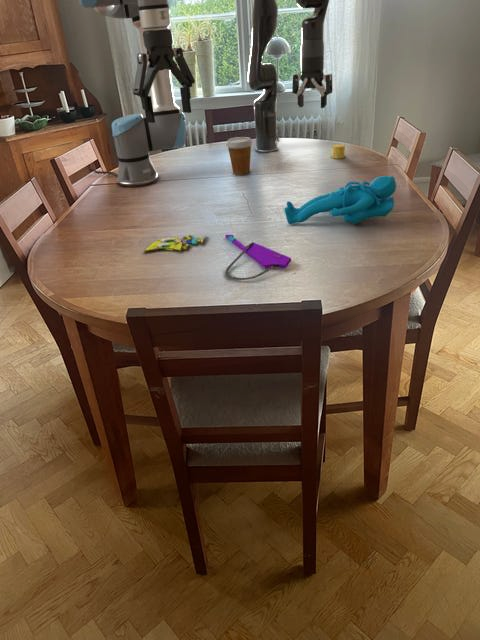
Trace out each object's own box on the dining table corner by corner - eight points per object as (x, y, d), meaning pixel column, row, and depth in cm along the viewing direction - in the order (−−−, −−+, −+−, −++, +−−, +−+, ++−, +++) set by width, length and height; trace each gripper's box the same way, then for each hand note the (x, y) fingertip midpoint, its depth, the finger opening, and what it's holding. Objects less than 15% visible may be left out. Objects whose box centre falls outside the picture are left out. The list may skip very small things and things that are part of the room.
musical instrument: (267, 291, 107) (306, 245, 119) (265, 283, 105) (305, 238, 118) (184, 277, 119) (226, 237, 132) (181, 270, 118) (225, 230, 130)
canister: (335, 159, 189) (336, 147, 186) (330, 156, 192) (330, 145, 190) (346, 157, 190) (346, 145, 187) (340, 154, 194) (341, 143, 191)
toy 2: (287, 190, 142) (392, 164, 132) (296, 223, 147) (398, 200, 137) (279, 211, 128) (396, 183, 118) (290, 247, 133) (402, 223, 123)
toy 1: (199, 248, 125) (143, 249, 127) (199, 251, 125) (144, 252, 127) (206, 233, 133) (154, 234, 135) (206, 236, 133) (154, 237, 136)
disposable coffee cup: (225, 175, 181) (222, 142, 175) (234, 168, 188) (232, 136, 182) (248, 176, 178) (246, 143, 171) (257, 169, 185) (255, 136, 178)
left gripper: (126, 33, 113) (143, 127, 125) (201, 24, 128) (210, 109, 140) (108, 34, 118) (125, 125, 129) (182, 25, 133) (192, 107, 144)
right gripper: (337, 53, 158) (335, 106, 167) (299, 53, 165) (299, 104, 174) (326, 55, 153) (325, 110, 162) (288, 56, 160) (288, 108, 169)
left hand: (169, 117), depth 135 cm, fingers open, 13 cm apart
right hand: (311, 107), depth 168 cm, fingers open, 8 cm apart
